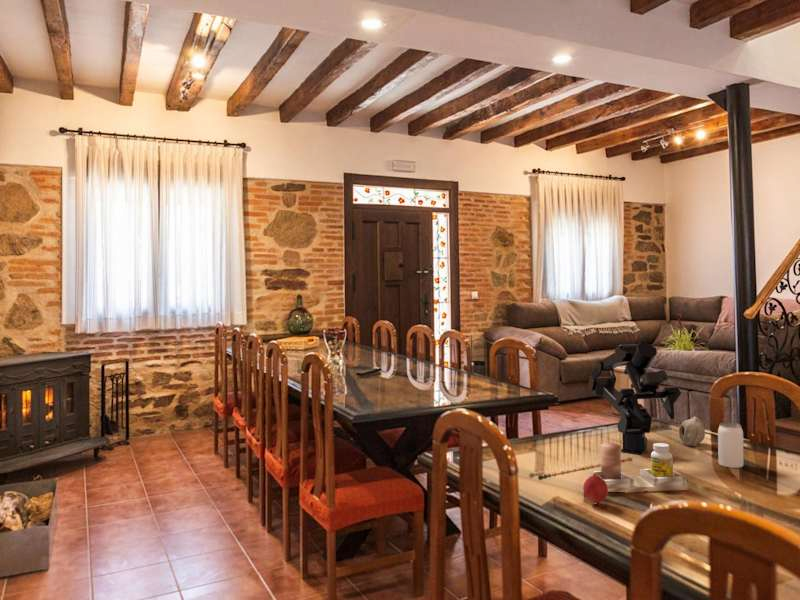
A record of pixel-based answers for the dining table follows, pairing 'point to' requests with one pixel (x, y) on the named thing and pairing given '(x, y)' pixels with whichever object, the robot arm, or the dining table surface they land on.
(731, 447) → the can
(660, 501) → the dining table surface
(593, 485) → the onion
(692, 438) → the grey round lump
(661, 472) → the supplement bottle
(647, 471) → the candle holder
